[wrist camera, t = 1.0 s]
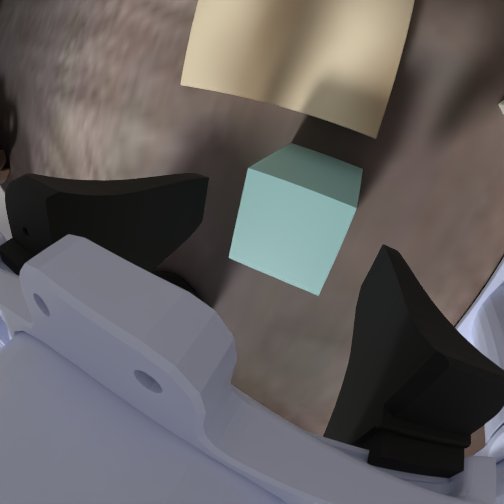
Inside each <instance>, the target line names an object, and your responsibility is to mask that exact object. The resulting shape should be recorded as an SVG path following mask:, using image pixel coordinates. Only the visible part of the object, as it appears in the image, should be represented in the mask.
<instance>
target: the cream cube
mask: <svg viewBox="0 0 504 504" xmlns="http://www.w3.org/2000/svg"><path fill="white" fill-rule="evenodd" d="M498 105H499V107H500V109H501V110H502V112H503V114H504V100H503V101H502V102H500V103H499V104H498Z"/></svg>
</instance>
